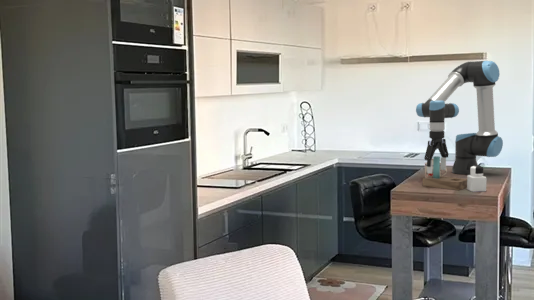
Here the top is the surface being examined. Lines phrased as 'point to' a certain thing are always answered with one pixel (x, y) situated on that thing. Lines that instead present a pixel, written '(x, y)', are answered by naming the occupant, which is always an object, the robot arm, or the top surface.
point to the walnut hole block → (445, 183)
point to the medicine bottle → (476, 179)
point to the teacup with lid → (432, 173)
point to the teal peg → (436, 167)
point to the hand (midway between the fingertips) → (436, 171)
